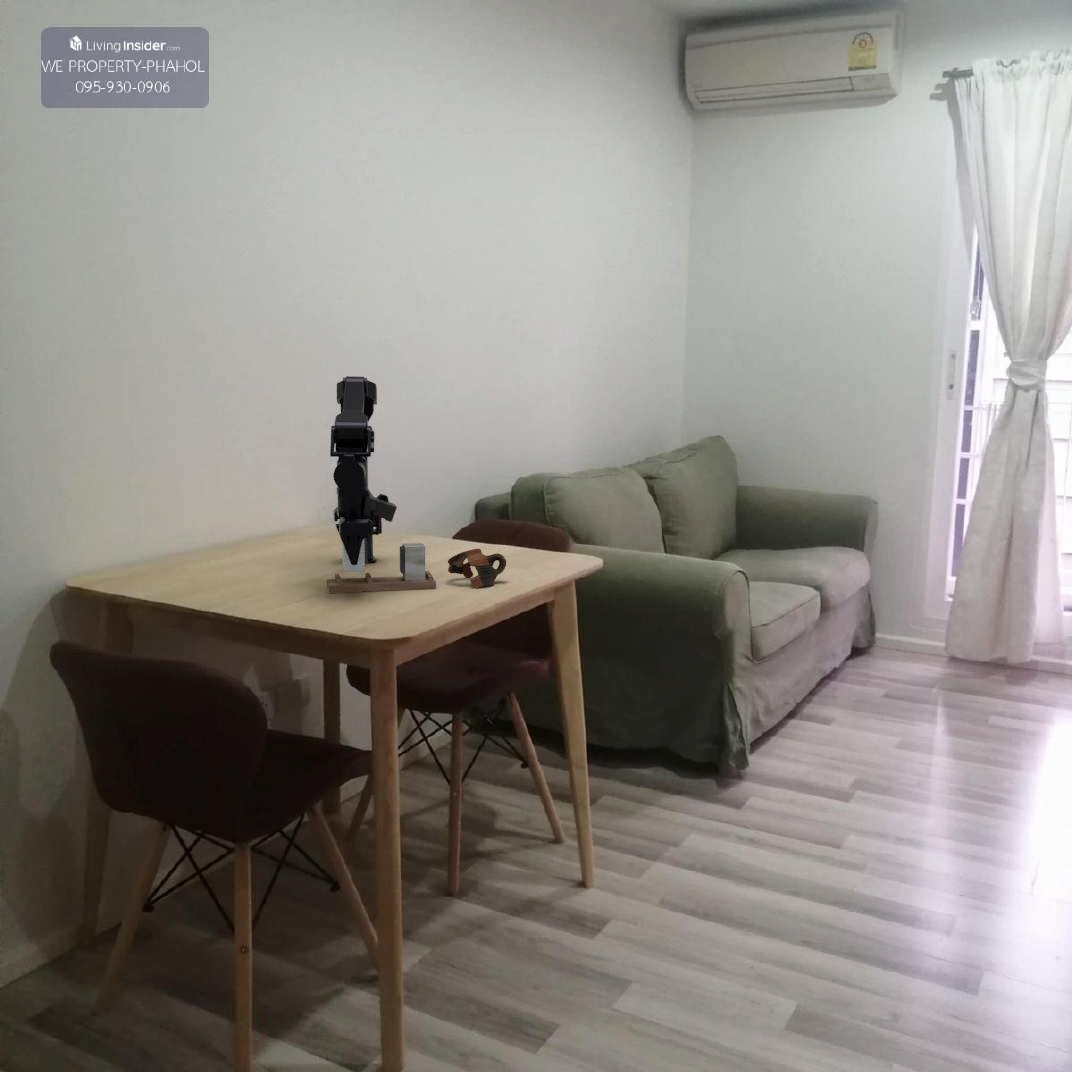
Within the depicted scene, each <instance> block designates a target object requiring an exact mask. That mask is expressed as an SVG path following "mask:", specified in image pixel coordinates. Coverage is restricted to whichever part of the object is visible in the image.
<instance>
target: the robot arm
mask: <svg viewBox="0 0 1072 1072" xmlns="http://www.w3.org/2000/svg"><path fill="white" fill-rule="evenodd" d="M377 387H378V386H377V383H375V382H373V381H371V380H368V378H367V377H365V376H353V375H352V376H351V375H350V376H347V375H346V376H345V377H342V380H341V381H339V382H337V383H336V402H337V405H340V413H339V414H337V415H336V416H335V418H334V425H331V428H330V447H329V448H330V449H329V450H330V452H329V453H330V454H329V455H330V457H333V458H337V457H338V458H337V460H336V467H335V468H334V470H333V481H334V483H335V485H336V495H337V506H336V507H335V508H334V510H333V521H334V522H338V523H335V527H336V530H337V532H338V534H339V537H340V540H341V543H342V542H343V545H344V547H345V550H346V552H347V555H348V557H349V560H350V562H351V565H357V563H358V559H359V554H360V549H361V545H362V541H363V539H364V538H365V537H366V538H367V558H368V563H376V562H377V558H376V556H374V535H376V536H378V535H380V534H381V535H382V533H383V529H382V527H383V526H382V525H383V524H382V519H384V520H385V521H386V522H390V523H392V522H393V519H394V517H395V514H396V511H397V508H398V507H397V505H396V504H395V503H393V502H390V501H389V496H388V495H386V494H383V493H379V494H378V495H377V496H376V497H375V496H373V494H372V492H371V490H370V489H369V469H368V468H369V467H368V466H369V465H368V462H369V461H368V459H369V458H370V457H371V456H372V453H375V431H374V430H373V427H372V425H369V421H370V419H371V418H372V416H373V414H374V413H375V412H374V411H375V405H378V388H377ZM338 520H339V521H338Z"/></svg>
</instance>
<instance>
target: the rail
mask: <svg viewBox="0 0 1072 1072" xmlns="http://www.w3.org/2000/svg"><path fill="white" fill-rule="evenodd" d="M401 543H402V542H401ZM399 571H400V573H401V574H402V575H401V576H400V575H399V576H397V575H396V576H379V577H378V576H377V577H372V575H371V574H370V572H364V573H365V574H364V575H365V576H364V577H351V578H349V577H348V578H341V575H340V573H334V578H328V579H326V587H327V591H328V593H329V594H341V593H342V594H343V593H362V591H371V592H390V591H392V590H395V591H409V590H408V589H419V590H435V589H434V588H436V589H437V581H436V580H435V577H434V576H433V574H432V573H431V572H430V571H429V570H426V545H425V544H424V543H423V542H406V543H402V544H401V545H400V546H399ZM388 590H389V591H388Z"/></svg>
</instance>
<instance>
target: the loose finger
mask: <svg viewBox="0 0 1072 1072" xmlns="http://www.w3.org/2000/svg"><path fill="white" fill-rule="evenodd" d="M341 547H342V548H341V549H342V551H341V552H342V553H341V554H342V555H341V556H342V557H341V558H342V561H341V564H342V571H343V573H344V574H347V573H348V574H349V573H350V574H351V573H366V572H365V571H366V567H365V566H366V565H368V564H369V562H368V558H367V538H366V537H365V538H364V539H363V541H362V545H361V549H360V554H359V559H358V563H357V565H351V562H350V560H349V557H348V555H347V552H346V550H345V547H344V545H343V542H342V541H341Z"/></svg>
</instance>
